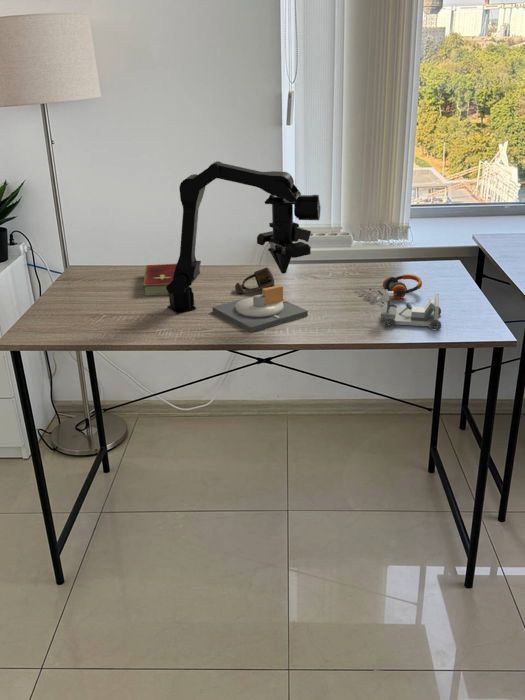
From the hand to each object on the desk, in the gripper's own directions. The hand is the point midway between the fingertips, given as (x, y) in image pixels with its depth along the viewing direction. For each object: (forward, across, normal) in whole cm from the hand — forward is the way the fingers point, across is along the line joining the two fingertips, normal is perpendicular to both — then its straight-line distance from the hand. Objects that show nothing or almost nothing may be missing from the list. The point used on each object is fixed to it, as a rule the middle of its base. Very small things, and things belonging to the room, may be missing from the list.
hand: (283, 273), depth 209 cm
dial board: (+12, +4, +6) cm, 14 cm away
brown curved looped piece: (+13, +23, -5) cm, 26 cm away
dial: (+11, +4, +5) cm, 13 cm away
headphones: (+13, -7, -35) cm, 38 cm away
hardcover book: (+13, +46, +16) cm, 50 cm away
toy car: (+13, -25, -25) cm, 38 cm away
